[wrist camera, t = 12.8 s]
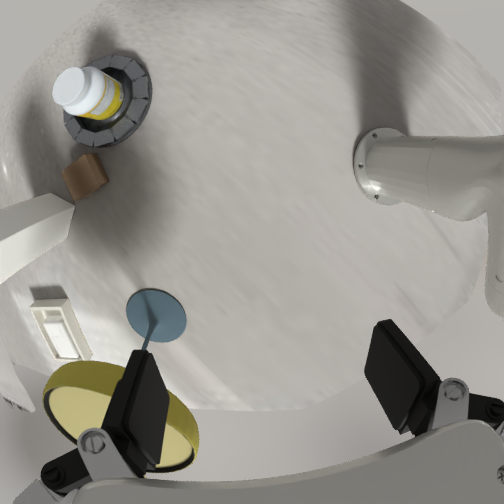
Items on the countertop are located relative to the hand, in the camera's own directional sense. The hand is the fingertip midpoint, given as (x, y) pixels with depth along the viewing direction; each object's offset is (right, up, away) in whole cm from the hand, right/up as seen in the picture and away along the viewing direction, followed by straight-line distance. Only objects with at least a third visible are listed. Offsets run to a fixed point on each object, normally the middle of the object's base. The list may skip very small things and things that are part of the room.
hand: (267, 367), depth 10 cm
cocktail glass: (-17, -6, +33) cm, 38 cm away
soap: (-38, -11, +33) cm, 52 cm away
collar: (-22, +27, +21) cm, 40 cm away
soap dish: (-39, -11, +33) cm, 52 cm away
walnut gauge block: (-25, +16, +24) cm, 39 cm away
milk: (-33, +11, +26) cm, 43 cm away
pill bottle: (-22, +27, +20) cm, 40 cm away
